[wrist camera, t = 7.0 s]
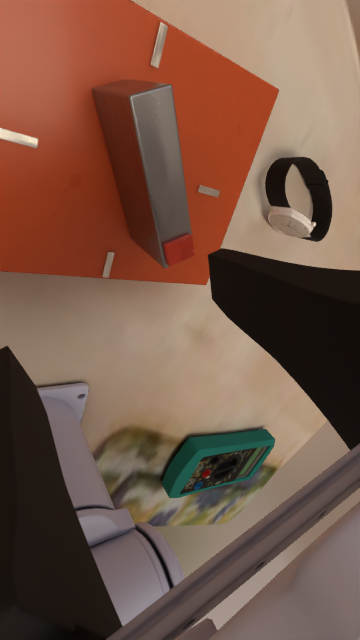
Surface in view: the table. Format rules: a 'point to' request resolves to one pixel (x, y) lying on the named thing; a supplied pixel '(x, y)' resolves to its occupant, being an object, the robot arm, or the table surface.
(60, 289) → the table surface
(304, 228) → the watch
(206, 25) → the table surface
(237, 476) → the digital multimeter
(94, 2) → the orange block
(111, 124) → the grey block with button
